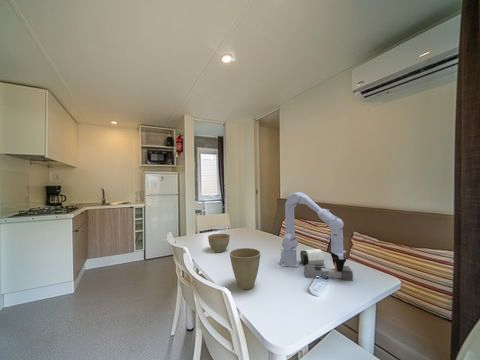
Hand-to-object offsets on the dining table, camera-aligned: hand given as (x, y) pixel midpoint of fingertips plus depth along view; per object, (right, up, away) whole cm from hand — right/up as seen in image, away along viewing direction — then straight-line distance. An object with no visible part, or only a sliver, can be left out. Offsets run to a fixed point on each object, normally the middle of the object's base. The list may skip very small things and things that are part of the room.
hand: (337, 268), depth 107 cm
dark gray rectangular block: (+4, -4, -1) cm, 6 cm away
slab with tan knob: (-1, -4, 0) cm, 4 cm away
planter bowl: (-66, -7, +47) cm, 81 cm away
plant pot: (-48, -5, -7) cm, 49 cm away
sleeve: (-10, -5, +2) cm, 11 cm away
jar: (-1, -1, +18) cm, 18 cm away
